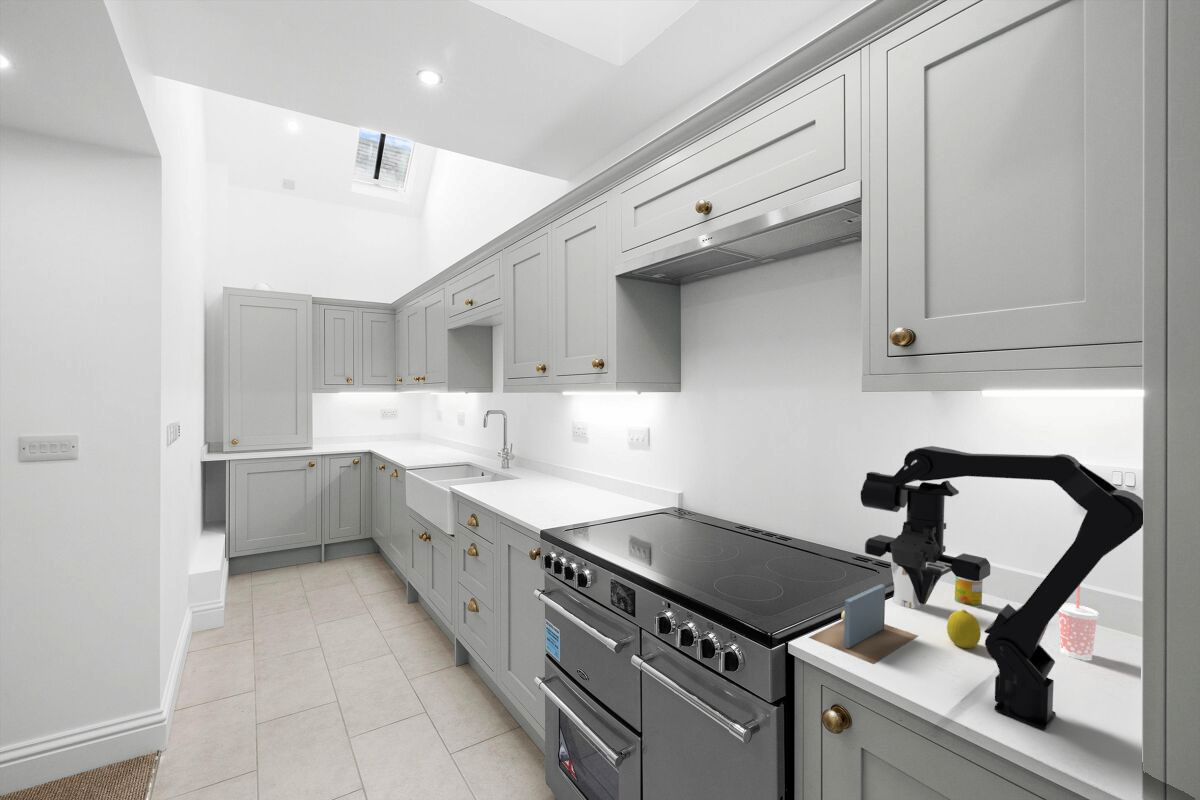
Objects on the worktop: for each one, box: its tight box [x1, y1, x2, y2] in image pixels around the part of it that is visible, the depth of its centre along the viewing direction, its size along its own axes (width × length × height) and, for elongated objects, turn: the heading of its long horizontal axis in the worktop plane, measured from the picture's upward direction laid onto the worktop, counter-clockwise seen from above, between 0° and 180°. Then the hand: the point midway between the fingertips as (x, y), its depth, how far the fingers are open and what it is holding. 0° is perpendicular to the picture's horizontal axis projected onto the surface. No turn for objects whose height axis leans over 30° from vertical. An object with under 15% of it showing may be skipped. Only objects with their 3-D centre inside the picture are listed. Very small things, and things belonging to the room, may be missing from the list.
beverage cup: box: [1057, 584, 1100, 661], centre depth 106 cm, size 6×6×14 cm
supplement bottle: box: [954, 575, 984, 609], centre depth 130 cm, size 5×5×10 cm
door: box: [840, 583, 886, 648], centre depth 110 cm, size 2×15×9 cm, turn 128°
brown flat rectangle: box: [808, 620, 919, 665], centre depth 110 cm, size 13×19×1 cm
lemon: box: [946, 609, 982, 649], centre depth 107 cm, size 6×6×8 cm
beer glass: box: [890, 553, 922, 609], centre depth 128 cm, size 7×7×15 cm
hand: (922, 603), depth 97 cm, fingers closed
